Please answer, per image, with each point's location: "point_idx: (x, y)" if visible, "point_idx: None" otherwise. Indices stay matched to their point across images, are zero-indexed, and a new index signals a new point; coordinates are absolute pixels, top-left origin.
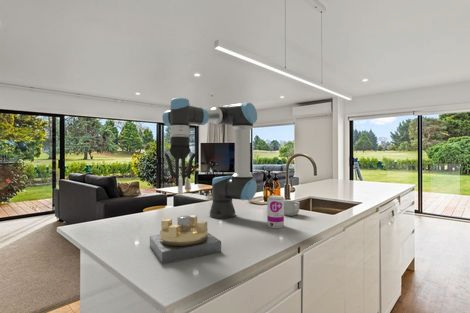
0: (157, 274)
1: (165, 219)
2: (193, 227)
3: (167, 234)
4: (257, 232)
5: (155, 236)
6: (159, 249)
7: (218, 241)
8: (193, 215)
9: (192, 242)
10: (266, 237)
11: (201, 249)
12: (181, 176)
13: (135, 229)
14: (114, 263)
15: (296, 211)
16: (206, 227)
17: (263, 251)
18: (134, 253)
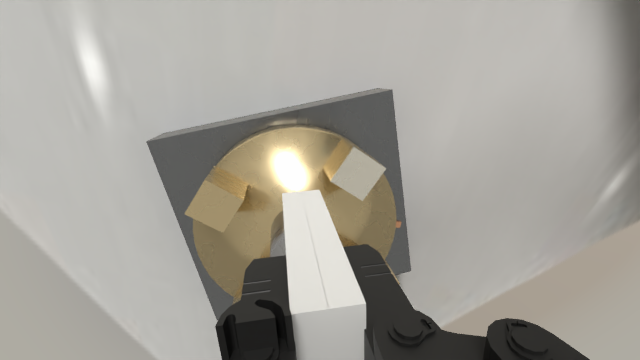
0: (215, 344)
1: (206, 199)
2: (343, 204)
3: (228, 272)
4: (595, 98)
5: (175, 156)
6: (207, 294)
7: (402, 271)
8: (367, 160)
9: None
10: (582, 165)
11: None
12: (373, 350)
13: None
14: (72, 264)
15: None
16: None
17: (500, 272)
18: (117, 197)
